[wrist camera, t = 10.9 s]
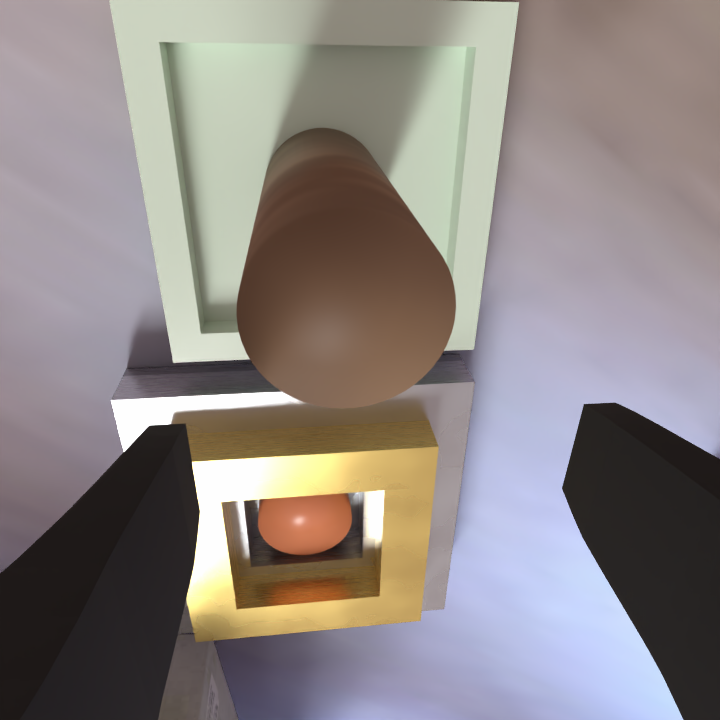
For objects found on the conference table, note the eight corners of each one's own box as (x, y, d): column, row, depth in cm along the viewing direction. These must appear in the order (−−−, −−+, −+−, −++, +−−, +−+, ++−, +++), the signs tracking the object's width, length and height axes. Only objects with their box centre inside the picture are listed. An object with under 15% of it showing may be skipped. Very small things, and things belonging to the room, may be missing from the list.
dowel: (386, 131, 16) (473, 213, 8) (375, 249, 18) (439, 409, 10) (263, 123, 16) (231, 201, 8) (264, 244, 17) (239, 407, 9)
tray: (499, 6, 15) (519, 2, 14) (462, 330, 20) (473, 349, 19) (124, -3, 14) (107, -8, 13) (180, 341, 19) (173, 362, 18)
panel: (459, 354, 21) (488, 406, 18) (433, 572, 27) (452, 639, 24) (126, 368, 19) (97, 428, 16) (177, 594, 25) (162, 668, 22)
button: (349, 462, 22) (352, 483, 21) (348, 528, 23) (351, 551, 22) (255, 468, 21) (254, 490, 20) (262, 535, 23) (261, 558, 22)
